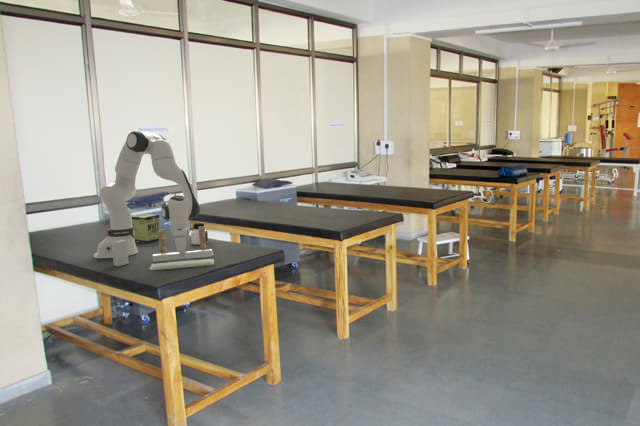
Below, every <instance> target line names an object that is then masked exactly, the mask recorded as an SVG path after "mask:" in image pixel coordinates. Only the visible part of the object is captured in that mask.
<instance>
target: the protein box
mask: <svg viewBox="0 0 640 426" xmlns="http://www.w3.org/2000/svg"><path fill="white" fill-rule="evenodd" d="M160 222H161V221H160V214H153V213H139V214H134V215H133V214H132V224H133V227H134V233H135V237H134V239H135V241H139V242H138V243H142V242H146V243H145V244H149V243H150V242H151V243H154V241H155V242H157V241H158V242H159V239H158V231H159V229H161V223H160Z"/></svg>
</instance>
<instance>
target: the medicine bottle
mask: <svg viewBox="0 0 640 426" xmlns="http://www.w3.org/2000/svg"><path fill="white" fill-rule="evenodd" d="M192 226H193V231H190V237H191V244H192V245H200V240H199V227H201V226H205V223H204V222H201V221H200V222H198V221H197V222H195V223H193V224H192ZM205 240H206V244H207V243H208V242H209V235H208V230H207V229H205Z"/></svg>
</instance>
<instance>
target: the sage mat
mask: <svg viewBox="0 0 640 426" xmlns="http://www.w3.org/2000/svg"><path fill="white" fill-rule="evenodd" d="M205 265H206V266H214V265H215V259H214V258H207V259H193V260H182V261H173V262H170V261H168V262H160V263H157V262H156V263H151V264H150V267H149V271H159V270H169V269H171V270H173V269H179V268H180V269H181V268H193V267H204V266H205Z"/></svg>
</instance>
